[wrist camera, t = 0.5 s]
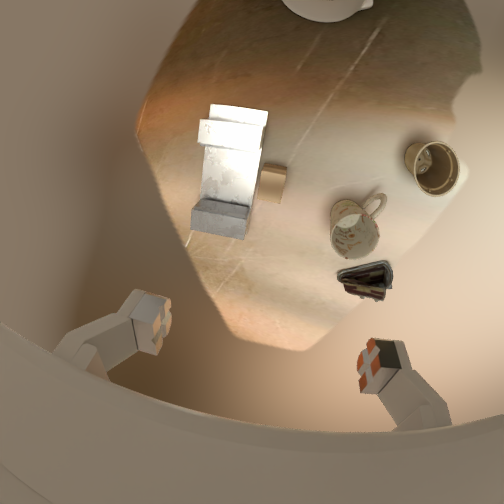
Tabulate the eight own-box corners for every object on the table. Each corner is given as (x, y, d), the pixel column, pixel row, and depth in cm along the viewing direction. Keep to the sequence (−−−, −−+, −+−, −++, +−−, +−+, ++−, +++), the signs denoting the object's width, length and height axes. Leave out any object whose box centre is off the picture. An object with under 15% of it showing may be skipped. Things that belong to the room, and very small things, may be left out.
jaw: (199, 197, 52) (191, 206, 48) (251, 207, 52) (247, 216, 48) (198, 219, 55) (190, 229, 51) (247, 228, 54) (243, 240, 50)
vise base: (212, 104, 44) (202, 104, 39) (268, 111, 44) (265, 112, 39) (199, 222, 57) (190, 236, 51) (247, 232, 56) (242, 247, 51)
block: (265, 163, 49) (261, 170, 44) (286, 167, 49) (286, 175, 44) (260, 188, 51) (256, 199, 46) (281, 192, 51) (280, 203, 46)
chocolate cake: (336, 298, 61) (381, 320, 53) (333, 278, 56) (383, 302, 48) (358, 269, 64) (401, 288, 56) (356, 249, 59) (403, 268, 51)
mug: (315, 214, 52) (319, 238, 44) (361, 169, 47) (376, 184, 38) (344, 241, 54) (352, 268, 46) (389, 199, 48) (407, 220, 40)
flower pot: (387, 163, 45) (403, 174, 38) (412, 124, 40) (433, 129, 33) (420, 191, 46) (439, 207, 39) (445, 154, 42) (468, 165, 34)
